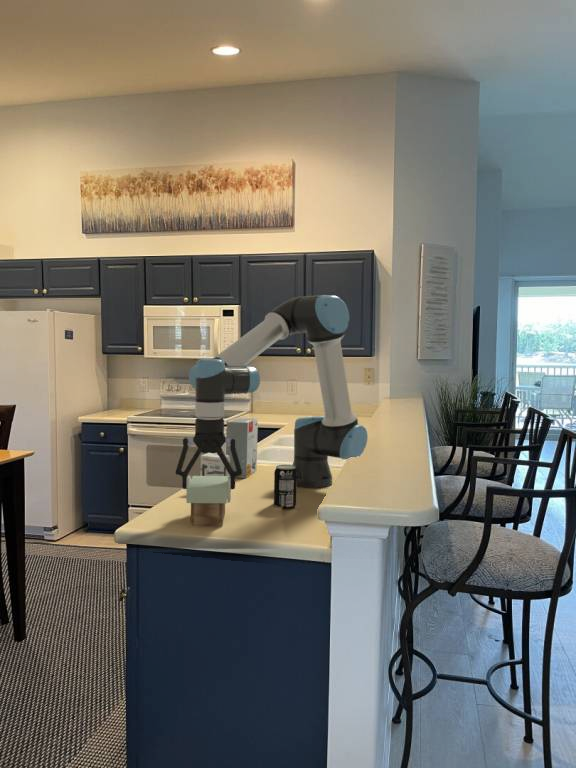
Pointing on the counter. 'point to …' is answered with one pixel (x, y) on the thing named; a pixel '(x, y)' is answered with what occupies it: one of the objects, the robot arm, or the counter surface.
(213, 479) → the lid
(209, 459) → the ink box
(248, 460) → the hard drive box
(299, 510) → the counter surface
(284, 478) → the beverage can
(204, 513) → the crate
